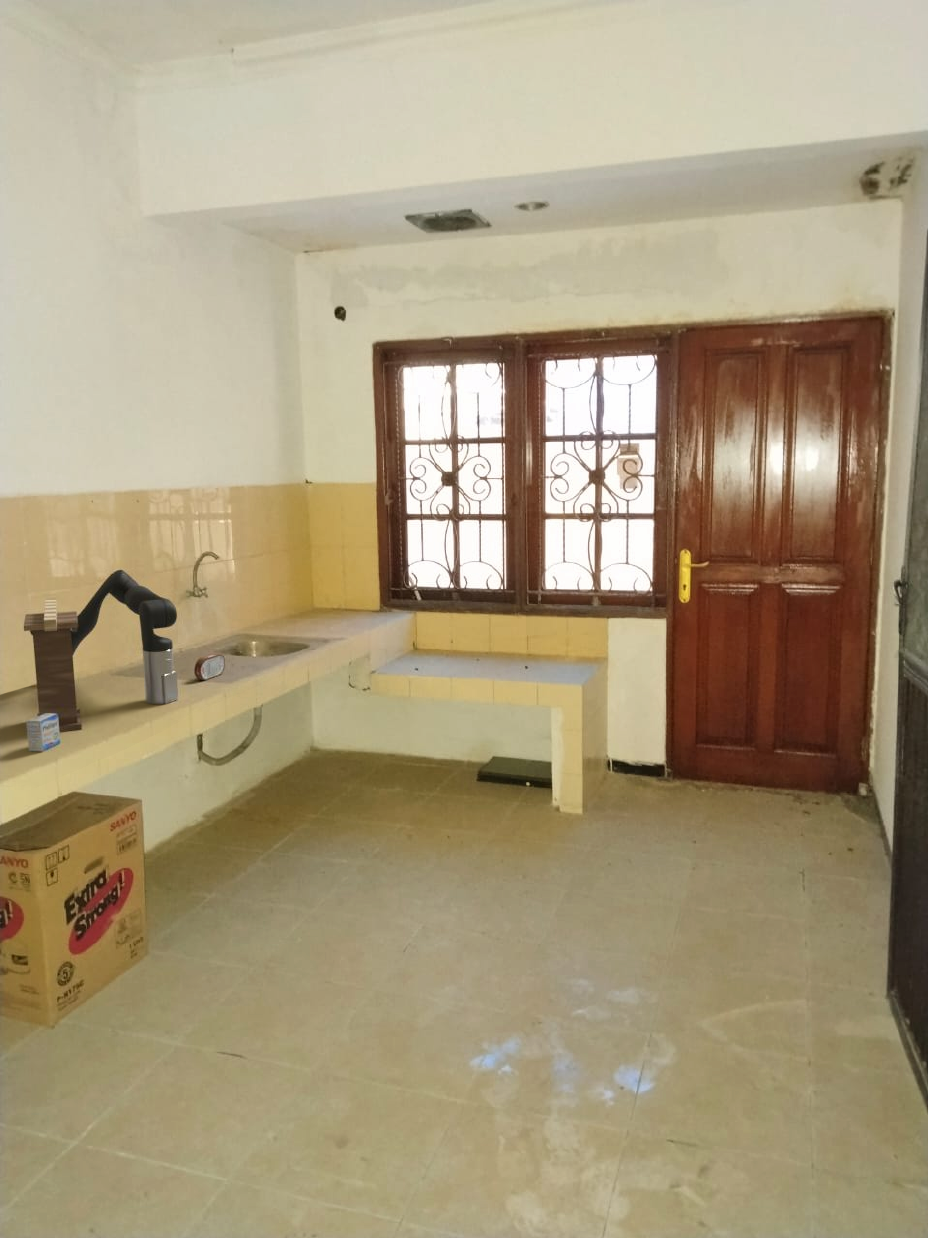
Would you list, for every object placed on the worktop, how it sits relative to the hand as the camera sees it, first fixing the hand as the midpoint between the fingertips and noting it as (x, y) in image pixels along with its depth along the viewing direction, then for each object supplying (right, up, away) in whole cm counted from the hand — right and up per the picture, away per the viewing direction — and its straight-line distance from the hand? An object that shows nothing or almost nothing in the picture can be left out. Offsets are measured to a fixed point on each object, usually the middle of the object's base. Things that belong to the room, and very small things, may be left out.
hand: (52, 619), depth 289 cm
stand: (+10, -31, -17) cm, 37 cm away
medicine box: (+16, -35, -39) cm, 55 cm away
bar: (+11, 0, -24) cm, 26 cm away
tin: (+40, -21, +39) cm, 59 cm away
